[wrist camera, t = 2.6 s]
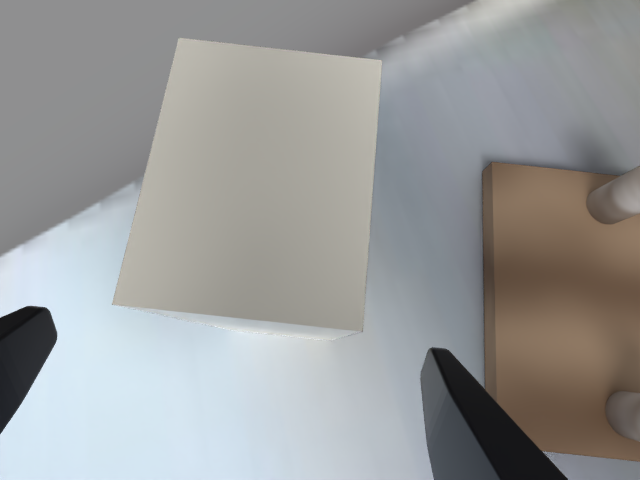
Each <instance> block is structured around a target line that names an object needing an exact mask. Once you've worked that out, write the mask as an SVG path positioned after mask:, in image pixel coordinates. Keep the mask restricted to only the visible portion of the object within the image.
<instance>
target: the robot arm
mask: <svg viewBox="0 0 640 480" xmlns="http://www.w3.org/2000/svg"><path fill="white" fill-rule="evenodd" d="M56 340H57V331H56V328H55V325H54V322H53V319H52V316H51V313H50V311H49V310H48V309H47V308H45V307H37V306H26V307H24V308H21V309H19V310H17V311H15V312H12V313H10V314H8V315H6V316H3V317H1V318H0V434H1V433H2V431H3V430H4V428H5V427H6V425H7V424H8V422H9V421H10V420H11V418H12V417H13V415H14V414H15V412H16V411H17V409H18V408H19V406H20V405H21V403H22V402H23V400H24V398H25V397H26V395H27V393H28V391H29V390H30V388H31V386H32V384H33V383H34V381H35V379H36V377H37V375H38V374H39V372H40V370H41V368H42V367H43V365H44V363H45V361H46V359H47V358H48V356H49V354H50V352H51V351H52V349H53V347H54V345H55V343H56ZM421 391H422V401H423V411H424V421H425V431H426V440H427V447H428V453H429V458H430V463H431V467H432V472H433V477H434V480H568V479H567V478H566V477H565V476H564V475H563V474H562V472H561V471H560V470H559V469H558V468H557V467H556V466H555V465H554V464H553V463H552V462H551V461H550V459H549V458H548V457H547V456H546V455H545V454H544V453H543V452H542V451H541V450H540V449H539V448H538V446H537V445H536V444H535V443H534V442H533V441H532V440H531V439H530V438H529V437H528V436H527V435H526V433H525V432H524V431H523V430H522V429H521V428H520V427H519V426H518V425H517V424H516V423H515V422H514V420H513V419H512V418H511V417H510V416H509V415H508V414H507V413H506V412H505V411H504V410H503V409H502V407H501V406H500V405H499V404H498V403H497V402H496V401H495V400H494V399H493V398H492V397H491V396H490V394H489V393H488V392H487V391H486V390H485V389H484V388H483V387H482V386H481V385H480V384H479V382H478V381H477V380H476V379H475V378H474V377H473V376H472V375H471V374H470V373H469V372H468V371H467V369H466V368H465V367H464V366H463V365H462V364H461V363H460V362H459V361H458V360H457V359H456V358H455V356H454V355H453V354H452V353H451V352H450V351H449V350H447V349H444V348H435V347H432V348H430V349H429V350H428V352H427V355H426V358H425V361H424V364H423V367H422V370H421Z"/></svg>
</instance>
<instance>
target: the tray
mask: <svg viewBox="0 0 640 480" xmlns="http://www.w3.org/2000/svg"><path fill="white" fill-rule="evenodd" d="M482 184H483V263H484V342H485V390H486V391H487V392H488V393H489V394H490V396H491V397H492V398H493V399H494V400H495V401H496V402H497V403H498V404H499V405H500V406H501V407H502V409H503V410H504V411H505V412H506V413H507V414H508V415H509V416H510V417H511V418H512V419H513V420H514V422H515V423H516V424H517V425H518V426H519V427H520V428H521V429H522V430H523V431H524V432H525V433H526V435H527V436H528V437H529V438H530V439H531V440H532V441H533V442H534V443H535V444H536V445H537V446H538V448H539V449H540V450H541V451H547V452H556V453H565V454H574V455H584V456H593V457H602V458H611V459H621V460H630V461H639V462H640V166H638V167H636V168H634V169H633V170H631V171H629V172H627V173H625V174H623V175H622V176H617V175H607V174H598V173H589V172H580V171H571V170H562V169H553V168H544V167H535V166H526V165H516V164H507V163H498V162H491V163H490V164H489V165H488V166H487V167H486V168H485V169H484V170H483V171H482Z"/></svg>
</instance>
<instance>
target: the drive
mask: <svg viewBox="0 0 640 480" xmlns="http://www.w3.org/2000/svg"><path fill="white" fill-rule="evenodd" d="M381 70H382V60H375V59H366V58H357V57H347V56H339V55H338V56H337V55H329V54H320V53H311V52H302V51H293V50H284V49H275V48H266V47H257V46H248V45H239V44H230V43H221V42H212V41H203V40H194V39H184V38H179V40H178V44H177V48H176V52H175V56H174V59H173V63H172V68H171V71H170V76H169V79H168V84H167V87H166V92H165V95H164V99H163V103H162V107H161V111H160V116H159V119H158V123H157V127H156V131H155V135H154V139H153V143H152V147H151V152H150V155H149V159H148V163H147V167H146V171H145V175H144V179H143V183H142V187H141V191H140V195H139V199H138V203H137V207H136V211H135V215H134V219H133V223H132V227H131V231H130V235H129V239H128V243H127V247H126V251H125V255H124V259H123V263H122V267H121V271H120V275H119V279H118V283H117V287H116V291H115V295H114V299H113V302H112V305H117V306H121V307H126V308H130V309H135V310H140V311H144V312H149V313H153V314H158V315H163V316H167V317H172V318H177V319H181V320H186V321H190V322H195V323H200V324H204V325H209V326H213V327H218V328H223V329H227V330H234V331H243V332H252V333H261V334H270V335H280V336H289V337H298V338H307V339H316V340H326V341H331V340H334V339H338V338H342V337H345V336H349V335H353V334H356V333H360V332H363V320H364V306H365V292H366V278H367V264H368V250H369V236H370V222H371V209H372V195H373V181H374V167H375V153H376V139H377V125H378V111H379V97H380V84H381Z"/></svg>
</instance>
